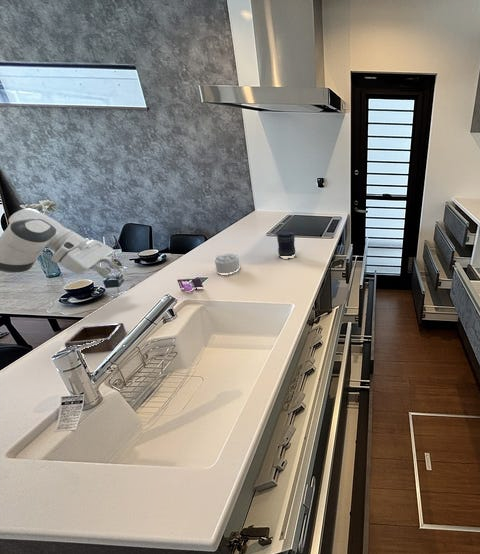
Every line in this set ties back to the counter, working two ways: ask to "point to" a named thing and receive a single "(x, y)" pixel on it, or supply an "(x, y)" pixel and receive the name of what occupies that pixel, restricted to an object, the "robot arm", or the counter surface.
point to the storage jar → (286, 242)
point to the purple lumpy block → (188, 287)
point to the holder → (98, 337)
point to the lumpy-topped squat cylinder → (227, 264)
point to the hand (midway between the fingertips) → (112, 269)
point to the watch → (113, 279)
